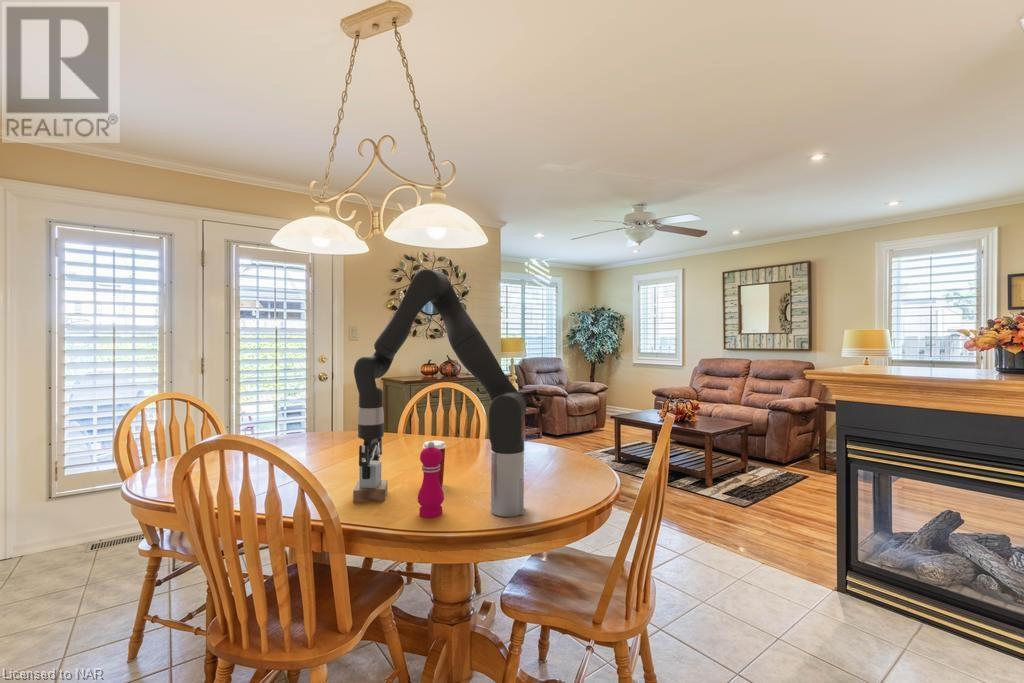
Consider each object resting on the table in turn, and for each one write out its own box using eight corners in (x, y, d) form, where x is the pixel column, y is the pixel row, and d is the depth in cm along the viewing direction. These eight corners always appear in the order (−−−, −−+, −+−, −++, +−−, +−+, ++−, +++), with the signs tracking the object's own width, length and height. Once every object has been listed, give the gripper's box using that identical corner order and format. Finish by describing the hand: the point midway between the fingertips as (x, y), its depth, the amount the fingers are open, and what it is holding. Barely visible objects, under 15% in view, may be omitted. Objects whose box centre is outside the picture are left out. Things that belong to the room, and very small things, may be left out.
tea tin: (381, 482, 150) (381, 460, 150) (375, 488, 145) (375, 464, 145) (365, 482, 150) (365, 459, 150) (359, 487, 145) (359, 464, 145)
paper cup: (449, 482, 162) (449, 441, 161) (440, 490, 154) (440, 446, 154) (428, 480, 164) (428, 439, 164) (417, 487, 156) (417, 444, 156)
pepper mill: (412, 513, 134) (412, 441, 134) (434, 507, 139) (434, 437, 139) (427, 521, 129) (427, 446, 128) (449, 514, 134) (449, 441, 134)
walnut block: (387, 492, 153) (387, 480, 153) (384, 502, 144) (384, 489, 144) (357, 494, 151) (357, 481, 151) (353, 504, 142) (353, 490, 142)
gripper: (375, 426, 140) (375, 482, 140) (389, 417, 154) (389, 468, 154) (350, 426, 140) (350, 481, 141) (366, 417, 154) (366, 468, 155)
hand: (370, 474), depth 147 cm, fingers open, 8 cm apart
